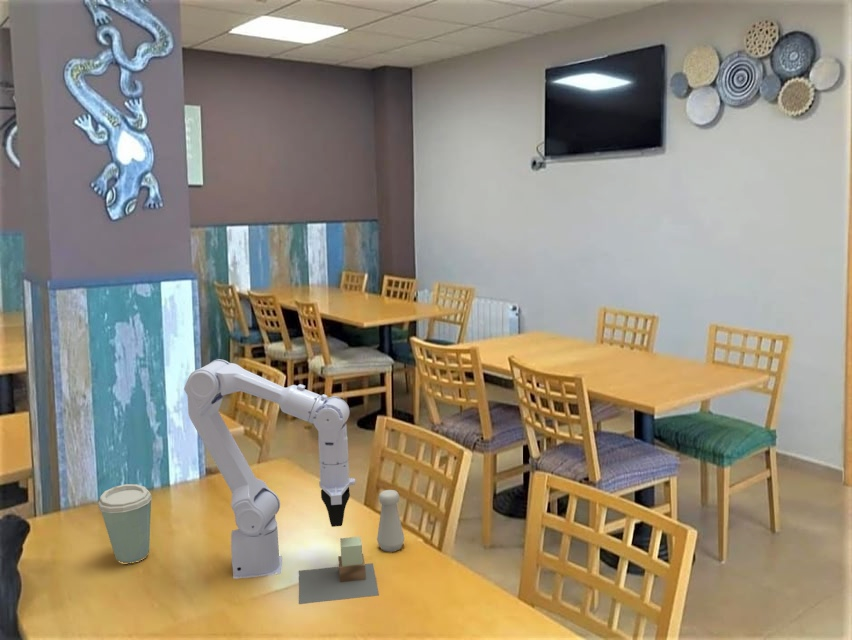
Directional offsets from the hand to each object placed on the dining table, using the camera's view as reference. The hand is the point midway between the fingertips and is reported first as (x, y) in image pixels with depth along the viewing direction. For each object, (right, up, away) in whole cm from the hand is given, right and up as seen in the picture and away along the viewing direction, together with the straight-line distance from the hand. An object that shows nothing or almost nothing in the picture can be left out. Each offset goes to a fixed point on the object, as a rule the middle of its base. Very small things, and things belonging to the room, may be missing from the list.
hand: (336, 525), depth 155 cm
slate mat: (+1, -11, -3) cm, 11 cm away
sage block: (+3, -7, -1) cm, 8 cm away
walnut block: (+3, -10, -1) cm, 10 cm away
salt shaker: (+10, -8, +11) cm, 17 cm away
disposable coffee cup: (-45, -10, +11) cm, 48 cm away
